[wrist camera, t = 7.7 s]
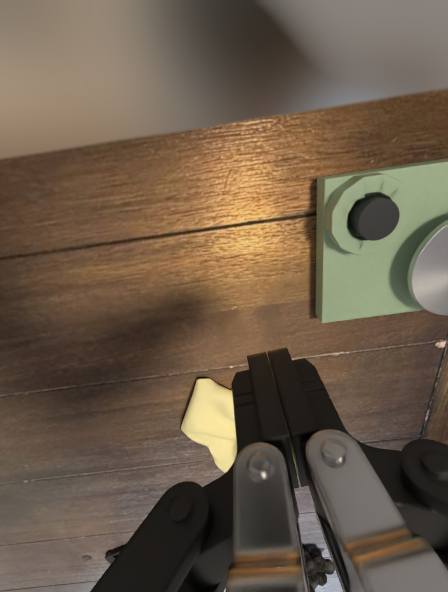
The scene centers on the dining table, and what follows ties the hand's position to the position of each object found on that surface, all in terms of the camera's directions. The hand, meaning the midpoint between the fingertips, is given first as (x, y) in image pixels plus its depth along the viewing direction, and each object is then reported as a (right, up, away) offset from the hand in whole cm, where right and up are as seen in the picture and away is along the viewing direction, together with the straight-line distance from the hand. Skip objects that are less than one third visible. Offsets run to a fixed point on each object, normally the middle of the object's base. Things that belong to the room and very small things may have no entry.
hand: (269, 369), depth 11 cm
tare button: (+9, +9, +11) cm, 17 cm away
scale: (+15, +8, +16) cm, 23 cm away
